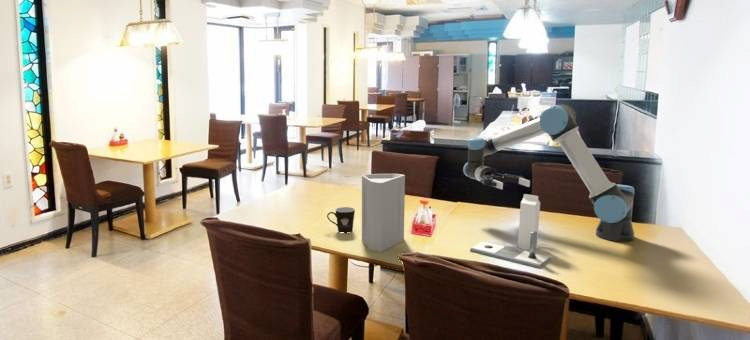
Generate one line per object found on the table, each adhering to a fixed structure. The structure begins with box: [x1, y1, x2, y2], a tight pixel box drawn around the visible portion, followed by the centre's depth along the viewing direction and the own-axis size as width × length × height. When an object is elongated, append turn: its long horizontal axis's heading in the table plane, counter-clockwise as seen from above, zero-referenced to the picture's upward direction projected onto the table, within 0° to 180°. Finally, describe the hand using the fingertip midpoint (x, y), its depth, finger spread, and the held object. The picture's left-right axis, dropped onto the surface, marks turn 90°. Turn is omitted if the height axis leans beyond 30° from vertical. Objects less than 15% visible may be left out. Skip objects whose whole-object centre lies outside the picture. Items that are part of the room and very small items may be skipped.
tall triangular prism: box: [361, 173, 406, 253], centre depth 205 cm, size 19×15×28 cm
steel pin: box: [528, 231, 538, 258], centre depth 187 cm, size 2×2×10 cm
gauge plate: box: [469, 240, 552, 269], centre depth 194 cm, size 28×12×1 cm, turn 51°
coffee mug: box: [326, 206, 356, 234], centre depth 222 cm, size 12×9×10 cm
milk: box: [517, 193, 541, 251], centre depth 200 cm, size 6×6×22 cm
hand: (515, 184), depth 207 cm, fingers open, 13 cm apart
